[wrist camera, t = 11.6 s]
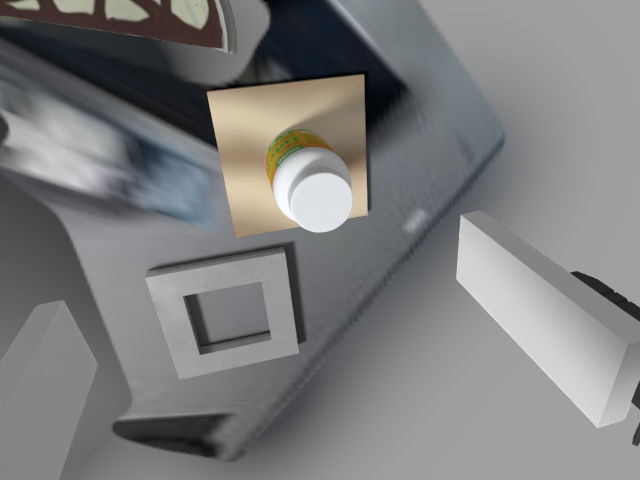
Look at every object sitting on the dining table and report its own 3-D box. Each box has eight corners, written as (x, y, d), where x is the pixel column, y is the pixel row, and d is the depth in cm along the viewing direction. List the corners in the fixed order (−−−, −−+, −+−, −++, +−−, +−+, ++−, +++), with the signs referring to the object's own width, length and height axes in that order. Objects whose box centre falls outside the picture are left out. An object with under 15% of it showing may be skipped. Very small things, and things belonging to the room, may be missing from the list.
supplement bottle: (284, 114, 31) (308, 143, 23) (340, 147, 33) (381, 186, 25) (252, 173, 33) (262, 221, 24) (307, 201, 35) (335, 255, 26)
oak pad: (207, 91, 30) (206, 91, 29) (361, 73, 32) (364, 74, 31) (235, 234, 35) (235, 237, 35) (365, 212, 37) (367, 215, 37)
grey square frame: (147, 270, 35) (145, 277, 34) (283, 246, 37) (285, 252, 36) (180, 370, 41) (179, 379, 40) (296, 345, 43) (298, 353, 42)
